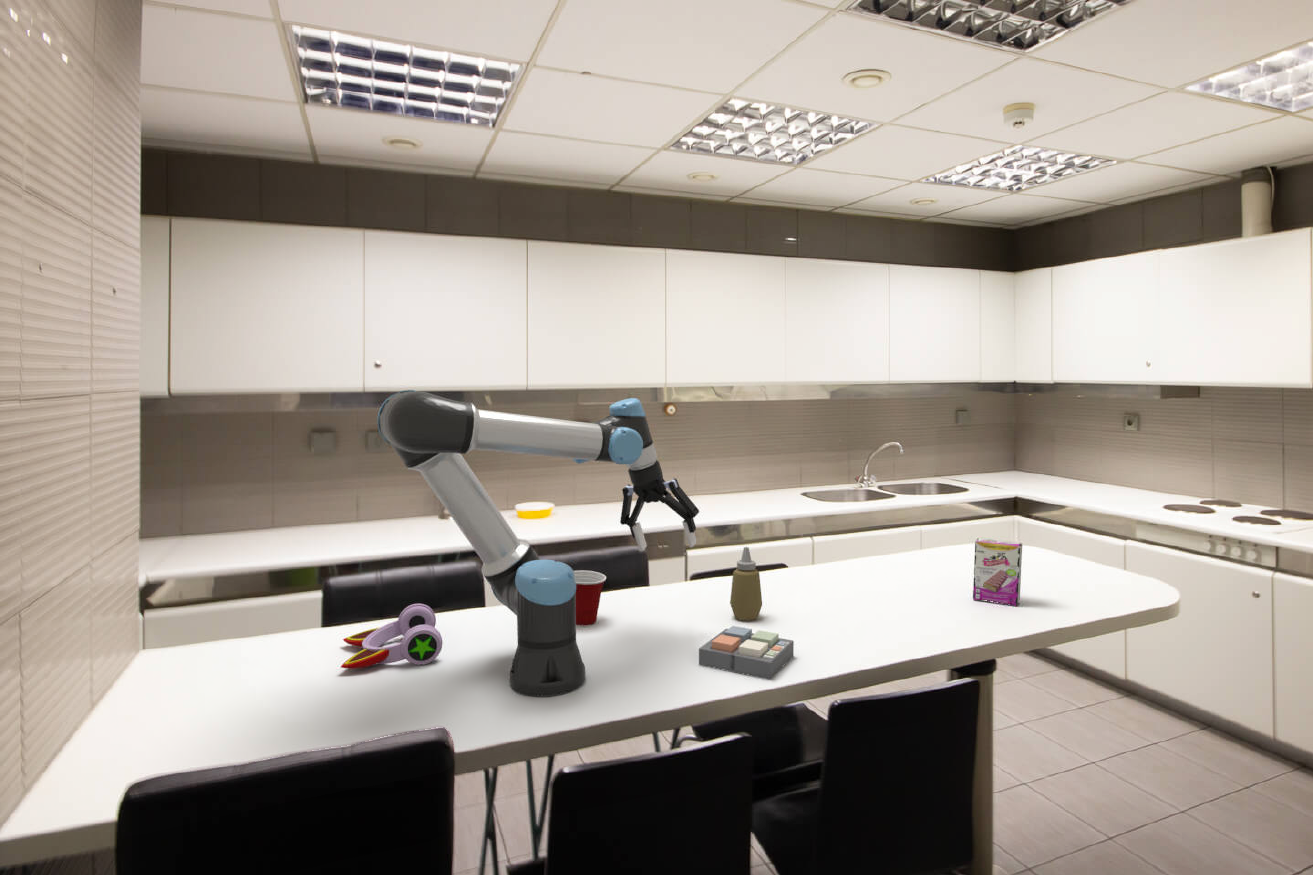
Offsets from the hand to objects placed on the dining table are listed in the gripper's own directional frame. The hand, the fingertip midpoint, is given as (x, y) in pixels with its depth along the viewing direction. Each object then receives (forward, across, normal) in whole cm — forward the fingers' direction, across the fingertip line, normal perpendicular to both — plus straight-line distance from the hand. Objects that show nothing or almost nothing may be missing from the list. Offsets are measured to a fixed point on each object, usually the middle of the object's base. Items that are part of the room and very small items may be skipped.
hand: (668, 546), depth 174 cm
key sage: (+20, -23, +11) cm, 33 cm away
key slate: (+19, -17, +11) cm, 28 cm away
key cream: (+19, -23, +18) cm, 34 cm away
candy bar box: (+47, -64, -50) cm, 93 cm away
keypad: (+21, -20, +15) cm, 32 cm away
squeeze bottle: (+26, -9, -11) cm, 30 cm away
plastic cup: (+15, +25, +8) cm, 30 cm away
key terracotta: (+18, -16, +17) cm, 30 cm away
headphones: (+1, +51, +43) cm, 67 cm away
